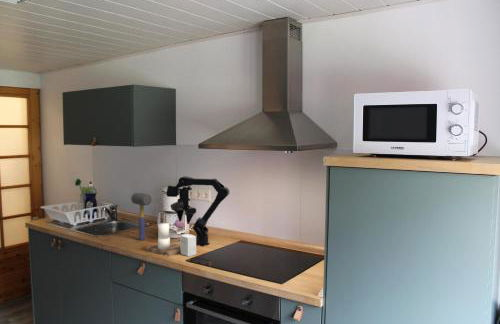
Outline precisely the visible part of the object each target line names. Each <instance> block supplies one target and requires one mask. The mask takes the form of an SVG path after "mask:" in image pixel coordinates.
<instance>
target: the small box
mask: <svg viewBox="0 0 500 324" xmlns="http://www.w3.org/2000/svg"><path fill="white" fill-rule="evenodd" d="M179 238H180V239H179V245H180V254H181V255H183V256H186V257H191V256H192V257H193V256H196V255H197V245H196V243H197V235H193V234H191V233H187V234H186V233H184V234H179Z"/></svg>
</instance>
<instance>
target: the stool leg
mask: <svg viewBox="0 0 500 324" xmlns="http://www.w3.org/2000/svg"><path fill="white" fill-rule="evenodd" d="M157 229H158V232H157V233H158V237H157V244H158V250H163V251H164V250H169V249H170V243H171V237H170V223H168V222H161V223H158V226H157Z"/></svg>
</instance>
